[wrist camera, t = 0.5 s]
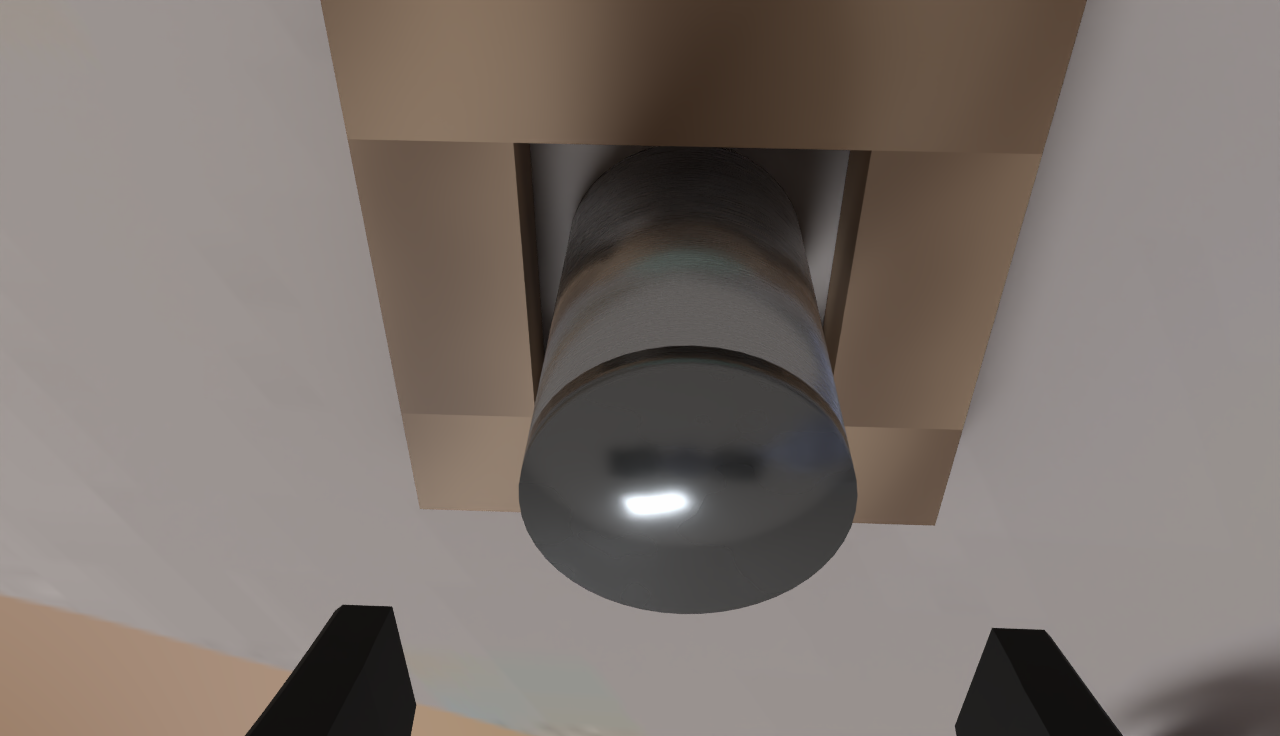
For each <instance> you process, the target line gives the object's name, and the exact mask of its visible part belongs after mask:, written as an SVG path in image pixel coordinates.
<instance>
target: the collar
mask: <svg viewBox="0 0 1280 736" xmlns="http://www.w3.org/2000/svg"><path fill="white" fill-rule="evenodd" d="M1086 1H1087V0H321V5H322V10H323V15H324V20H325V26H326V31H327V36H328V41H329V46H330V51H331V56H332V61H333V66H334V72H335V77H336V82H337V87H338V92H339V97H340V102H341V107H342V112H343V118H344V123H345V128H346V133H347V138H348V143H349V148H350V153H351V158H352V164H353V169H354V174H355V179H356V184H357V189H358V194H359V199H360V205H361V210H362V215H363V220H364V225H365V230H366V235H367V240H368V245H369V251H370V256H371V261H372V266H373V271H374V276H375V281H376V286H377V291H378V297H379V302H380V307H381V312H382V317H383V322H384V327H385V332H386V338H387V343H388V348H389V353H390V358H391V363H392V368H393V373H394V378H395V384H396V389H397V394H398V399H399V404H400V409H401V414H402V419H403V424H404V430H405V435H406V440H407V445H408V450H409V455H410V460H411V465H412V470H413V476H414V481H415V486H416V491H417V496H418V501H419V506H420V509H438V510H469V511H500V512H521V510H520V504H519V480H520V475H521V469H522V464H523V459H524V454H525V450H526V445H527V440H528V435H529V430H530V425H531V421H532V416H533V411H534V406H535V401H536V396H537V392H538V387H539V382H540V377H541V372H542V368H543V363H544V358H545V357H544V343H543V328H542V314H541V300H540V285H539V271H538V256H537V242H536V228H535V213H534V199H533V184H532V170H531V156H530V143H546V144H593V145H640V146H686V147H733V148H779V149H826V150H850V155H849V162H848V168H847V175H846V181H845V188H844V194H843V201H842V207H841V213H840V220H839V226H838V233H837V239H836V246H835V252H834V259H833V265H832V272H831V278H830V285H829V291H828V298H827V304H826V311H825V317H824V324H823V333H824V337H825V342H826V346H827V351H828V355H829V359H830V364H831V368H832V373H833V377H834V382H835V386H836V390H837V395H838V399H839V404H840V408H841V413H842V417H843V422H844V426H845V430H846V435H847V439H848V444H849V448H850V453H851V457H852V462H853V466H854V470H855V475H856V479H857V494H858V497H857V505H856V512H855V516H854V519H853V522H852V523H873V524H904V525H935V523H936V520H937V516H938V513H939V509H940V506H941V502H942V499H943V495H944V492H945V489H946V485H947V482H948V478H949V475H950V471H951V468H952V464H953V461H954V457H955V454H956V451H957V447H958V444H959V440H960V437H961V433H962V430H963V426H964V423H965V419H966V416H967V413H968V409H969V406H970V402H971V399H972V395H973V392H974V388H975V385H976V381H977V378H978V375H979V371H980V368H981V364H982V361H983V357H984V354H985V350H986V347H987V343H988V340H989V337H990V333H991V330H992V326H993V323H994V319H995V316H996V312H997V309H998V305H999V302H1000V299H1001V295H1002V292H1003V288H1004V285H1005V281H1006V278H1007V274H1008V271H1009V267H1010V264H1011V261H1012V257H1013V254H1014V250H1015V247H1016V243H1017V240H1018V236H1019V233H1020V229H1021V226H1022V223H1023V219H1024V216H1025V212H1026V209H1027V205H1028V202H1029V198H1030V195H1031V191H1032V188H1033V185H1034V181H1035V178H1036V174H1037V171H1038V167H1039V164H1040V160H1041V157H1042V153H1043V150H1044V147H1045V143H1046V140H1047V136H1048V133H1049V129H1050V126H1051V122H1052V119H1053V115H1054V112H1055V109H1056V105H1057V102H1058V98H1059V95H1060V91H1061V88H1062V84H1063V81H1064V77H1065V74H1066V71H1067V67H1068V64H1069V60H1070V57H1071V53H1072V50H1073V46H1074V43H1075V39H1076V36H1077V33H1078V29H1079V26H1080V22H1081V19H1082V15H1083V12H1084V8H1085V5H1086Z"/></svg>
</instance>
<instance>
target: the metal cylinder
mask: <svg viewBox="0 0 1280 736" xmlns="http://www.w3.org/2000/svg"><path fill="white" fill-rule="evenodd" d="M857 497H858V494H857V479H856V475H855V470H854V466H853V462H852V457H851V453H850V448H849V444H848V439H847V435H846V430H845V426H844V422H843V417H842V413H841V408H840V404H839V399H838V395H837V390H836V386H835V382H834V377H833V373H832V368H831V364H830V359H829V355H828V351H827V346H826V342H825V337H824V333H823V328H822V324H821V319H820V315H819V311H818V306H817V302H816V297H815V293H814V288H813V284H812V279H811V275H810V271H809V266H808V262H807V257H806V253H805V248H804V244H803V239H802V235H801V231H800V226H799V222H798V219H797V215H796V213H795V210H794V208H793V206H792V203H791V201H790V200H789V198H788V197H787V195H786V193H785V192H784V190H783V189H782V188H781V187H780V185H779V184H778V183H777V182H776V180H775V179H774V178H773V177H771V176H770V175H769V174H768V173H767V172H766V171H765V170H764V169H762V168H761V167H759V166H758V165H757V164H755V163H754V162H752V161H751V160H749V159H747V158H745V157H743V156H741V155H739V154H737V153H734V152H731V151H728V150H725V149H723V148H718V147H686V146H658V147H654V148H651V149H648V150H644V151H641V152H639V153H637V154H634V155H632V156H630V157H628V158H626V159H624V160H622V161H621V162H619V163H618V164H616V165H614V166H613V167H612V168H610V169H609V170H608V171H607V172H605V173H604V174H603V175H602V176H601V177H600V178H599V179H598V180H597V181H596V182H595V183H594V184H593V185H592V186H591V188H590V189H589V191H588V192H587V193H586V195H585V196H584V198H583V199H582V201H581V203H580V205H579V207H578V209H577V211H576V214H575V217H574V220H573V223H572V227H571V232H570V237H569V242H568V247H567V252H566V256H565V261H564V266H563V271H562V276H561V281H560V285H559V290H558V295H557V300H556V305H555V310H554V314H553V319H552V324H551V329H550V334H549V339H548V343H547V348H546V353H545V358H544V363H543V368H542V372H541V377H540V382H539V387H538V392H537V396H536V401H535V406H534V411H533V416H532V421H531V425H530V430H529V435H528V440H527V445H526V450H525V454H524V459H523V464H522V469H521V475H520V480H519V504H520V510H521V515H522V518H523V521H524V524H525V526H526V529H527V531H528V533H529V535H530V537H531V538H532V540H533V542H534V544H535V545H536V547H537V548H538V549H539V550H540V552H541V553H542V554H543V555H544V557H545V558H546V559H547V560H548V561H549V562H550V563H551V564H552V565H553V566H554V567H555V568H556V569H557V570H558V571H560V572H561V573H562V574H564V575H565V576H566V577H568V578H569V579H570V580H572V581H573V582H575V583H577V584H578V585H580V586H582V587H583V588H585V589H587V590H588V591H591V592H593V593H595V594H597V595H599V596H601V597H604V598H606V599H609V600H612V601H614V602H617V603H620V604H623V605H627V606H631V607H635V608H639V609H643V610H650V611H656V612H663V613H676V614H703V613H714V612H722V611H728V610H734V609H739V608H743V607H747V606H750V605H754V604H758V603H761V602H763V601H766V600H769V599H771V598H774V597H777V596H779V595H781V594H783V593H785V592H787V591H789V590H791V589H793V588H794V587H796V586H798V585H799V584H801V583H802V582H804V581H805V580H807V579H809V578H810V577H811V576H812V575H813V574H815V573H816V572H817V571H818V570H820V569H821V568H822V567H823V566H824V565H825V564H826V563H827V562H828V561H829V560H830V559H831V558H832V557H833V556H834V554H835V553H836V552H837V550H838V549H839V547H840V546H841V545H842V543H843V542H844V540H845V538H846V536H847V534H848V532H849V530H850V528H851V525H852V522H853V519H854V516H855V512H856V505H857Z"/></svg>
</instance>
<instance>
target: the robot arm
mask: <svg viewBox="0 0 1280 736" xmlns="http://www.w3.org/2000/svg"><path fill="white" fill-rule="evenodd" d="M415 709H416V702H415V698H414V694H413V690H412V686H411V682H410V677H409V673H408V669H407V665H406V661H405V657H404V653H403V649H402V645H401V641H400V636H399V632H398V628H397V624H396V620H395V616H394V612H393V608H392V607H390V606H362V605H342V606H341V607H339V608H338V609H337V610H335V612H334V613H333V615H332V616H331V618H330V619H329V621H328V622H327V623H326V625H325V626H324V628H323V629H322V631H321V632H320V634H319V635H318V637H317V638H316V639H315V641H314V642H313V644H312V645H311V647H310V648H309V650H308V651H307V652H306V654H305V655H304V657H303V658H302V659H301V661H300V662H299V664H298V665H297V667H296V668H295V669H294V671H293V672H292V674H291V675H290V676H289V678H288V679H287V680H286V682H285V683H284V685H283V686H282V687H281V689H280V690H279V691H278V693H277V694H276V696H275V697H274V698H273V699H272V701H271V702H270V704H269V705H268V706H267V708H266V709H265V711H264V712H263V713H262V715H261V716H260V717H259V718H258V720H257V721H256V722H255V723H254V725H253V726H252V727H251V729H250V730H249V731H248V732H247V734H246V735H245V736H411V731H412V725H413V720H414V714H415ZM955 729H956V735H957V736H1123V735H1122V734H1121V732H1120V731H1119V730H1118V728H1117V727H1116V726H1115V724H1114V723H1113V722H1112V720H1111V719H1110V718H1109V716H1108V715H1107V714H1106V712H1105V711H1104V710H1103V708H1102V707H1101V706H1100V704H1099V703H1098V702H1097V700H1096V699H1095V697H1094V696H1093V695H1092V693H1091V692H1090V691H1089V689H1088V688H1087V686H1086V685H1085V684H1084V682H1083V681H1082V680H1081V678H1080V677H1079V675H1078V674H1077V673H1076V671H1075V670H1074V669H1073V667H1072V666H1071V664H1070V663H1069V662H1068V660H1067V659H1066V657H1065V656H1064V655H1063V653H1062V652H1061V650H1060V649H1059V648H1058V646H1057V645H1056V644H1055V642H1054V641H1053V639H1052V638H1051V637H1050V636H1049V635H1048V633H1047V632H1046V631H1045V630H1033V629H1005V628H992V630H991V632H990V635H989V638H988V640H987V643H986V646H985V648H984V651H983V653H982V656H981V659H980V661H979V664H978V667H977V669H976V672H975V675H974V677H973V680H972V682H971V685H970V688H969V690H968V693H967V696H966V698H965V701H964V703H963V706H962V709H961V711H960V714H959V717H958V719H957V722H956V724H955Z"/></svg>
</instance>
